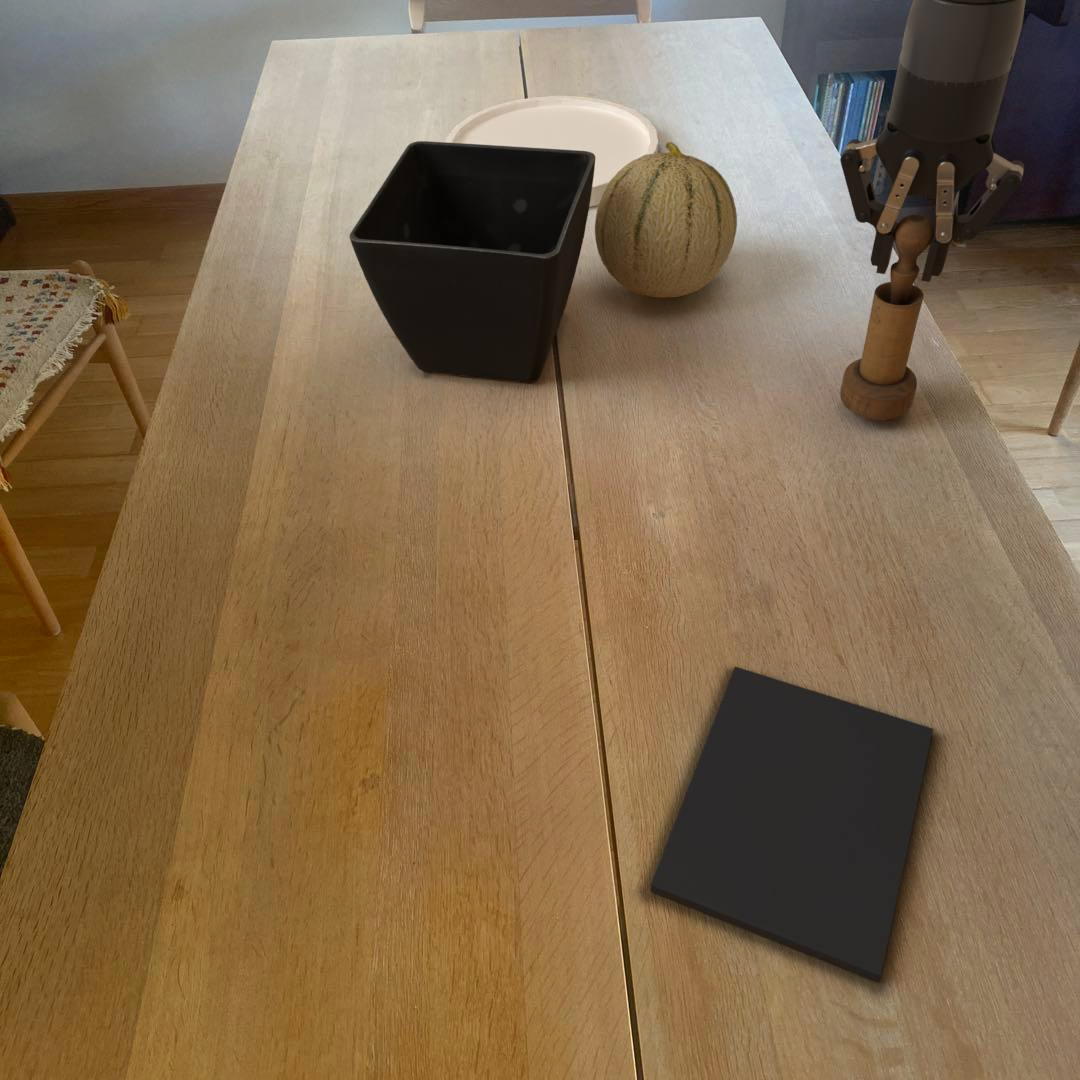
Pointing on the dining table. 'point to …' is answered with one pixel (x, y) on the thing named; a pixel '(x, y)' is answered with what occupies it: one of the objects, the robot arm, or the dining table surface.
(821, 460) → the dining table surface
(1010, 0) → the robot arm
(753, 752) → the mat
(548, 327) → the flower pot
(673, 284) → the cantaloupe
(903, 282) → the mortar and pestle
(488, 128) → the plate
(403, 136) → the dining table surface
